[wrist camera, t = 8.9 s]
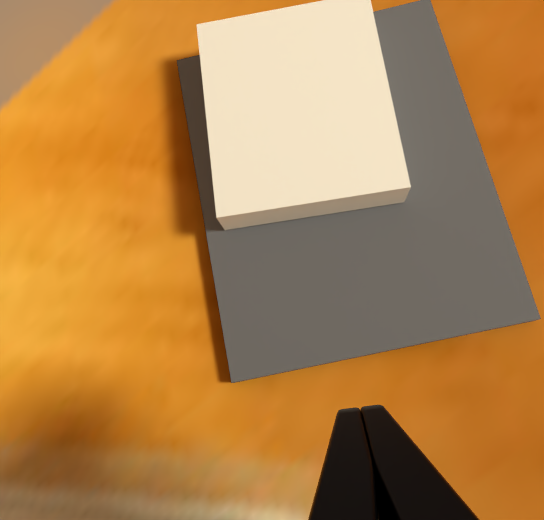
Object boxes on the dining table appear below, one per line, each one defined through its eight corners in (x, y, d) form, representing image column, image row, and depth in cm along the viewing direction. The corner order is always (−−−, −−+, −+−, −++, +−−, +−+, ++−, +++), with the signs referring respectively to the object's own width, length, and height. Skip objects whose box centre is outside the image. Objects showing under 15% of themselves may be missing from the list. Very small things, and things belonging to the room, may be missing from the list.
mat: (534, 320, 18) (540, 318, 18) (234, 382, 19) (231, 382, 19) (426, 8, 22) (429, -2, 22) (180, 68, 23) (176, 60, 22)
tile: (411, 187, 18) (368, -9, 20) (216, 217, 18) (196, 24, 21) (403, 203, 20) (365, 21, 22) (225, 230, 20) (205, 50, 22)
